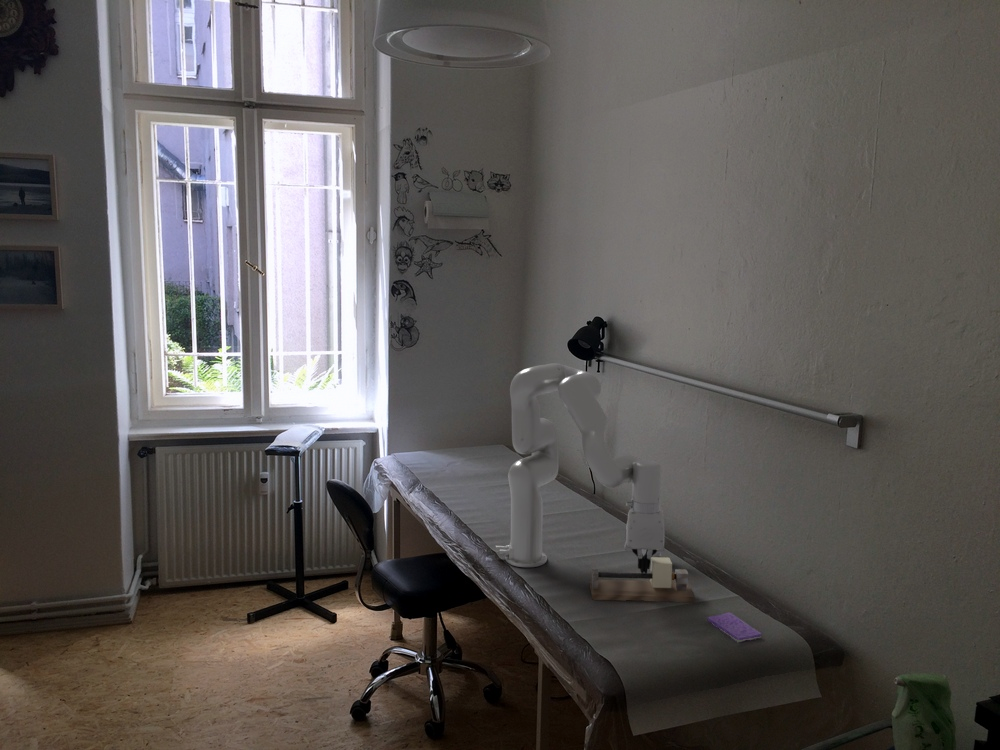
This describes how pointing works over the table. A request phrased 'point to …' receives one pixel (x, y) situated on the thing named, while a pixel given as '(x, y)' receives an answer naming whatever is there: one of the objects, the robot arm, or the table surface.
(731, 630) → the sponges
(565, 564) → the table surface
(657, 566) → the cream foam block
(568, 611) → the table surface
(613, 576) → the wooden linear slide
